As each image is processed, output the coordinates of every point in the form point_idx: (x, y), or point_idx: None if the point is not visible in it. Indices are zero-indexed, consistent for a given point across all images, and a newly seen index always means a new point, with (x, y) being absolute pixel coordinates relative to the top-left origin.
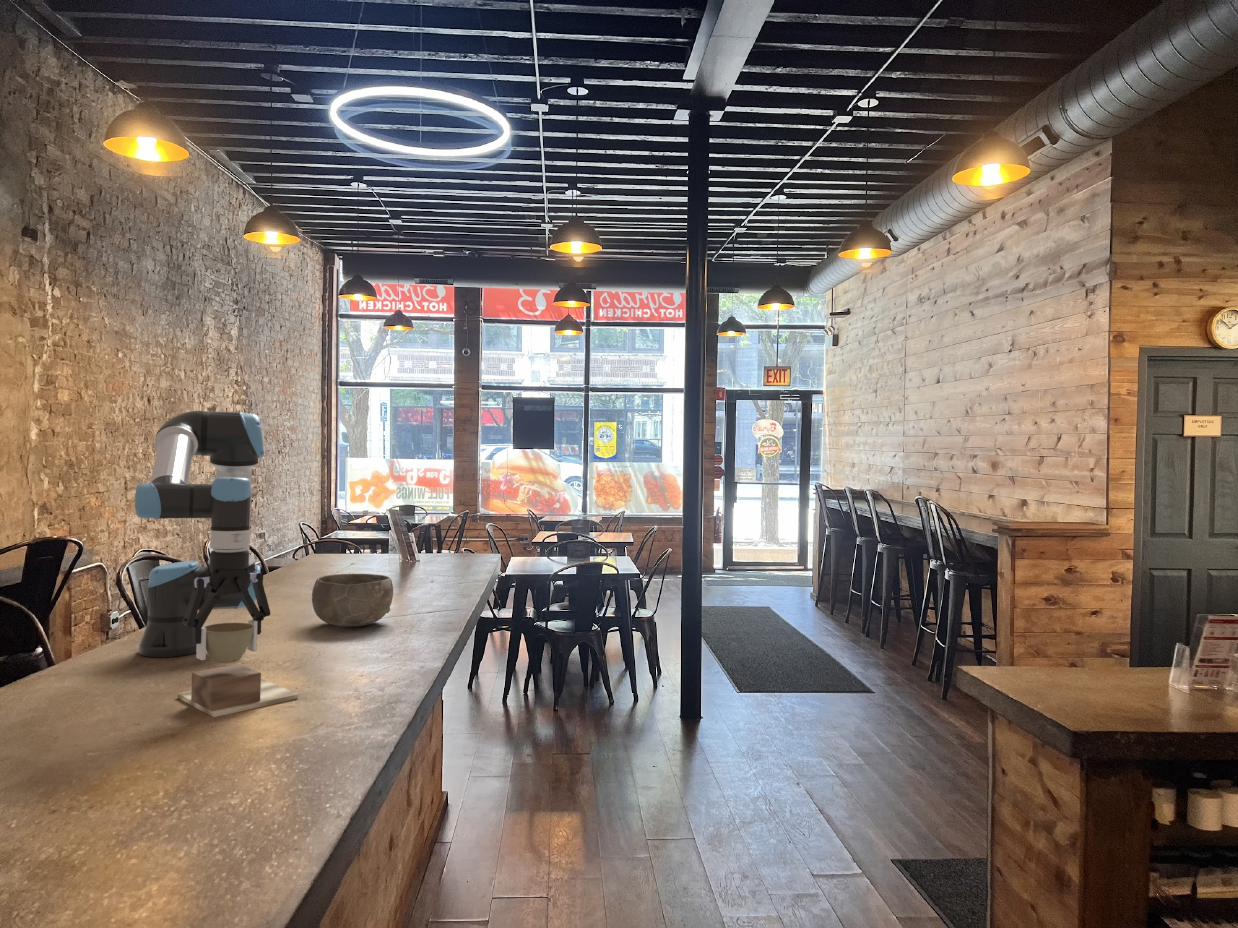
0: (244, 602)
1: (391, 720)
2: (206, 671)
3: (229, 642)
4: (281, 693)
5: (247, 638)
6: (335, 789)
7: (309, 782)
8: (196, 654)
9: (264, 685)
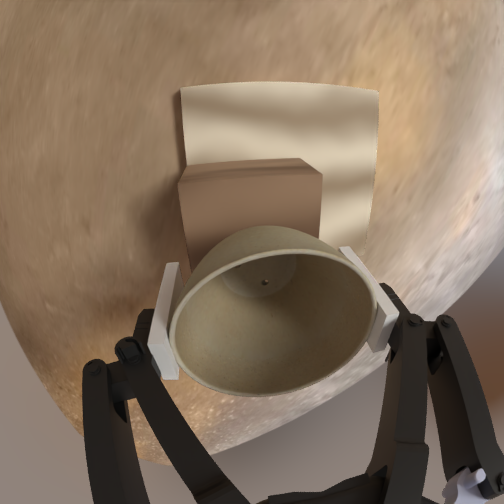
0: (391, 405)
1: (360, 372)
2: (214, 199)
3: (246, 364)
4: (348, 234)
5: (307, 354)
6: (231, 438)
7: (222, 430)
8: (165, 270)
9: (357, 157)
